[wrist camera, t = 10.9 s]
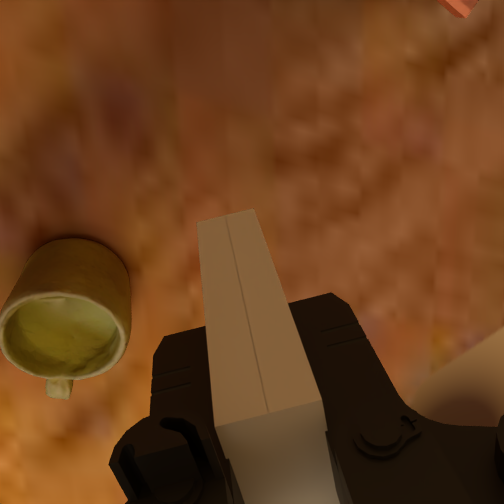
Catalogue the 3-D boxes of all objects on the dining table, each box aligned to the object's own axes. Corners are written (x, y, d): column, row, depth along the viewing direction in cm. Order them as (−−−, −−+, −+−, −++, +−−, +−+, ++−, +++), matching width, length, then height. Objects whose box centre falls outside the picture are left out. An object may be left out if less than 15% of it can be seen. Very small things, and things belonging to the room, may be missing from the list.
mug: (13, 206, 36) (13, 311, 30) (142, 230, 42) (165, 321, 36) (-19, 310, 43) (-25, 413, 36) (96, 318, 48) (109, 408, 42)
